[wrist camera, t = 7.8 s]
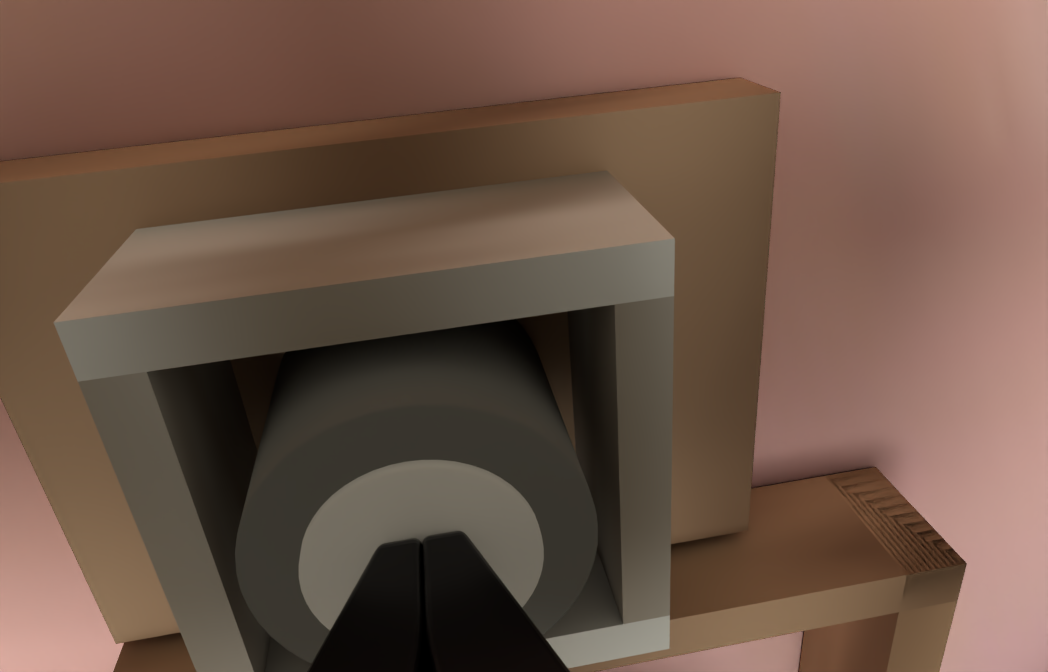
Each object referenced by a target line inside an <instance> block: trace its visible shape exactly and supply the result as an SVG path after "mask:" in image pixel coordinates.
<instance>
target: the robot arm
mask: <svg viewBox="0 0 1048 672" xmlns="http://www.w3.org/2000/svg"><path fill="white" fill-rule="evenodd" d="M307 672H570V670H569V669H568V668H567V666H566V665H565V664H564V662H563V661H562V660H561V658H560V657H559V656H558V654H557V653H556V652H555V650H554V649H553V648H552V647H551V645H550V644H549V643H548V641H547V640H546V639H545V637H544V636H543V635H542V633H541V632H540V631H539V629H538V628H537V627H536V625H535V624H534V623H533V621H532V620H531V619H530V617H529V616H528V615H527V613H526V612H525V611H524V610H523V608H522V607H521V606H520V604H519V603H518V602H517V600H516V599H515V598H514V596H513V595H512V594H511V592H510V591H509V590H508V588H507V587H506V586H505V584H504V583H503V582H502V580H501V579H500V578H499V576H498V575H497V574H496V573H495V571H494V570H493V569H492V567H491V566H490V565H489V563H488V562H487V561H486V559H485V558H484V557H483V555H482V554H481V553H480V551H479V550H478V549H477V547H476V546H475V545H474V543H473V542H472V541H471V539H470V538H469V537H468V536H467V535H466V534H465V533H464V532H462V531H452V532H446V533H440V534H434V535H429V536H426V537H425V538H424V540H423V542H422V543H421V541H420V540H419V539H417V538H411V539H405V540H399V541H393V542H388V543H383V544H381V545H380V546H378V547H377V549H376V550H375V552H374V554H373V555H372V557H371V559H370V561H369V563H368V564H367V566H366V568H365V570H364V571H363V573H362V575H361V577H360V578H359V580H358V582H357V584H356V586H355V587H354V589H353V591H352V593H351V594H350V596H349V598H348V600H347V602H346V603H345V605H344V607H343V609H342V610H341V612H340V614H339V616H338V618H337V619H336V621H335V623H334V625H333V626H332V628H331V630H330V632H329V633H328V635H327V637H326V639H325V641H324V642H323V644H322V646H321V648H320V649H319V651H318V653H317V655H316V657H315V658H314V660H313V662H312V664H311V665H310V667H309V669H308V671H307Z"/></svg>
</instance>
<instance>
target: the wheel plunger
mask: <svg viewBox="0 0 1048 672" xmlns="http://www.w3.org/2000/svg"><path fill="white" fill-rule="evenodd" d="M452 531H462V532H464V533H465V534H466V535H467V536H468V537H469V538H470V539H471V541H472V542H473V543H474V545H475V546H476V547H477V549H478V550H479V551H480V553H481V554H482V555H483V557H484V558H485V559H486V561H487V562H488V563H489V565H490V566H491V567H492V569H493V570H494V571H495V573H496V574H497V575H498V576H499V578H500V579H501V580H502V582H503V583H504V584H505V586H506V587H507V588H508V590H509V591H510V592H511V594H512V595H513V596H514V598H515V599H516V600H517V602H518V603H519V604H520V606H521V607H522V608H523V610H524V611H525V612H526V613H527V615H528V616H529V617H530V619H531V620H532V621H533V623H534V624H535V625H536V627H537V628H538V629H539V631H540V632H541V633H542V635H544V634H545V633H546V632H547V631H548V630H549V629H551V628H552V627H553V626H554V625H555V624H556V623H557V622H558V621H559V620H560V619H561V618H562V617H563V615H564V614H565V613H566V612H567V611H568V610H569V609H570V607H571V606H572V604H573V603H574V602H575V600H576V599H577V597H578V596H579V595H580V593H581V591H582V589H583V587H584V585H585V583H586V581H587V580H588V577H589V574H590V572H591V569H592V566H593V564H594V560H595V555H596V550H597V545H598V522H597V514H596V509H595V505H594V502H593V499H592V496H591V492H590V490H589V487H588V484H587V482H586V479H585V477H584V474H583V471H582V469H581V466H580V463H579V461H578V458H577V455H576V453H575V450H574V447H573V445H572V442H571V439H570V437H569V434H568V431H567V429H566V426H565V424H564V421H563V418H562V416H561V413H560V410H559V408H558V405H557V402H556V400H555V397H554V394H553V392H552V389H551V386H550V384H549V381H548V378H547V376H546V373H545V371H544V368H543V365H542V363H541V360H540V357H539V355H538V352H537V350H536V348H535V346H534V344H533V342H532V340H531V338H530V337H529V335H528V334H527V332H526V331H525V330H524V328H523V327H522V325H521V324H520V323H519V322H518V321H517V320H516V319H510V320H503V321H496V322H489V323H482V324H475V325H469V326H462V327H455V328H448V329H441V330H434V331H427V332H420V333H413V334H406V335H399V336H392V337H385V338H378V339H371V340H364V341H357V342H350V343H343V344H336V345H329V346H322V347H315V348H308V349H301V350H294V351H287V352H285V354H284V356H283V358H282V360H281V364H280V367H279V370H278V374H277V377H276V381H275V385H274V389H273V393H272V397H271V401H270V405H269V409H268V413H267V417H266V421H265V425H264V429H263V433H262V437H261V441H260V445H259V449H258V453H257V457H256V461H255V465H254V469H253V473H252V477H251V481H250V485H249V489H248V492H247V496H246V500H245V504H244V508H243V512H242V516H241V520H240V524H239V528H238V532H237V539H236V547H235V563H236V574H237V578H238V582H239V586H240V590H241V592H242V594H243V597H244V599H245V601H246V603H247V606H248V608H249V609H250V611H251V612H252V614H253V615H254V617H255V618H256V620H257V621H258V623H259V624H260V625H261V626H262V627H263V628H264V629H265V630H266V632H267V633H268V634H269V635H270V636H271V637H272V638H273V639H275V640H276V641H277V642H278V643H279V644H281V645H282V646H283V647H284V648H285V649H287V650H288V651H290V652H292V653H293V654H295V655H296V656H298V657H300V658H301V659H303V660H305V661H307V662H309V663H311V664H312V662H313V660H314V658H315V657H316V655H317V653H318V651H319V649H320V648H321V646H322V644H323V642H324V641H325V639H326V637H327V635H328V633H329V632H330V630H331V628H332V626H333V625H334V623H335V621H336V619H337V618H338V616H339V614H340V612H341V610H342V609H343V607H344V605H345V603H346V602H347V600H348V598H349V596H350V594H351V593H352V591H353V589H354V587H355V586H356V584H357V582H358V580H359V578H360V577H361V575H362V573H363V571H364V570H365V568H366V566H367V564H368V563H369V561H370V559H371V557H372V555H373V554H374V552H375V550H376V549H377V547H378V546H380V545H381V544H383V543H388V542H393V541H399V540H405V539H411V538H417V539H419V540H420V541H421V543H422V542H423V540H424V538H425V537H426V536H429V535H434V534H440V533H446V532H452Z"/></svg>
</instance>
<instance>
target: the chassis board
mask: <svg viewBox="0 0 1048 672" xmlns="http://www.w3.org/2000/svg"><path fill="white" fill-rule="evenodd" d="M780 93H781V92H778V91H775V90H773V89H770V88H767V87H764V86H762V85H759V84H756V83H753V82H751V81H748V80H745V79H743V78H733V79H725V80H716V81H707V82H698V83H689V84H680V85H672V86H663V87H654V88H645V89H636V90H627V91H619V92H610V93H601V94H592V95H583V96H574V97H566V98H557V99H548V100H539V101H530V102H521V103H513V104H504V105H495V106H486V107H477V108H468V109H460V110H451V111H442V112H433V113H424V114H415V115H407V116H398V117H389V118H380V119H371V120H362V121H354V122H345V123H336V124H327V125H318V126H309V127H301V128H292V129H283V130H274V131H265V132H256V133H248V134H239V135H230V136H221V137H212V138H203V139H195V140H186V141H177V142H168V143H159V144H150V145H142V146H133V147H124V148H115V149H106V150H97V151H89V152H80V153H71V154H62V155H53V156H44V157H36V158H27V159H18V160H9V161H0V398H1V400H2V402H3V404H4V406H5V408H6V410H7V413H8V415H9V417H10V419H11V421H12V423H13V425H14V428H15V430H16V432H17V434H18V436H19V438H20V440H21V442H22V445H23V447H24V449H25V451H26V453H27V455H28V457H29V459H30V462H31V464H32V466H33V468H34V470H35V472H36V474H37V476H38V479H39V481H40V483H41V485H42V487H43V489H44V491H45V494H46V496H47V498H48V500H49V502H50V504H51V506H52V508H53V511H54V513H55V515H56V517H57V519H58V521H59V523H60V525H61V528H62V530H63V532H64V534H65V536H66V538H67V540H68V543H69V545H70V547H71V549H72V551H73V553H74V555H75V557H76V560H77V562H78V564H79V566H80V568H81V570H82V572H83V574H84V577H85V579H86V581H87V583H88V585H89V587H90V589H91V592H92V594H93V596H94V598H95V600H96V602H97V604H98V606H99V609H100V611H101V613H102V615H103V617H104V619H105V621H106V623H107V626H108V628H109V630H110V632H111V634H112V636H113V638H114V641H115V643H116V644H118V643H124V645H123V647H122V650H121V653H120V655H119V658H118V661H117V663H116V666H115V669H114V671H113V672H307V671H308V669H309V667H310V665H311V663H309V662H307V661H305V660H303V659H301V658H300V657H298V656H296V655H295V654H293V653H292V652H290V651H288V650H287V649H285V648H284V647H283V646H282V645H281V644H279V643H278V642H277V641H276V640H275V639H273V638H272V637H271V636H270V635H269V634H268V633H267V632H266V630H265V629H264V628H263V627H262V626H261V625H260V624H259V623H258V621H257V620H256V618H255V617H254V615H253V614H252V612H251V611H250V609H249V608H248V606H247V603H246V601H245V599H244V597H243V594H242V592H241V590H240V586H239V582H238V578H237V574H236V563H235V547H236V539H237V532H238V528H239V524H240V520H241V516H242V512H243V508H244V504H245V500H246V496H247V492H248V489H249V485H250V481H251V477H252V473H253V469H254V465H255V461H256V457H257V453H258V449H259V445H260V441H261V437H262V433H263V429H264V425H265V421H266V417H267V413H268V409H269V405H270V401H271V397H272V393H273V389H274V385H275V381H276V377H277V374H278V370H279V367H280V364H281V360H282V358H283V356H284V354H285V352H287V351H294V350H301V349H308V348H315V347H322V346H329V345H336V344H343V343H350V342H357V341H364V340H371V339H378V338H385V337H392V336H399V335H406V334H413V333H420V332H427V331H434V330H441V329H448V328H455V327H462V326H469V325H475V324H482V323H489V322H496V321H503V320H510V319H516V320H517V321H518V322H519V323H520V324H521V325H522V327H523V328H524V330H525V331H526V332H527V334H528V335H529V337H530V338H531V340H532V342H533V344H534V346H535V348H536V350H537V352H538V355H539V357H540V360H541V363H542V365H543V368H544V371H545V373H546V376H547V378H548V381H549V384H550V386H551V389H552V392H553V394H554V397H555V400H556V402H557V405H558V408H559V410H560V413H561V416H562V418H563V421H564V424H565V426H566V429H567V431H568V434H569V437H570V439H571V442H572V445H573V447H574V450H575V453H576V455H577V458H578V461H579V463H580V466H581V469H582V471H583V474H584V477H585V479H586V482H587V484H588V487H589V490H590V492H591V496H592V499H593V502H594V505H595V509H596V514H597V522H598V545H597V550H596V555H595V560H594V564H593V566H592V569H591V572H590V574H589V577H588V580H587V581H586V583H585V585H584V587H583V589H582V591H581V593H580V595H579V596H578V597H577V599H576V600H575V602H574V603H573V604H572V606H571V607H570V609H569V610H568V611H567V612H566V613H565V614H564V615H563V617H562V618H561V619H560V620H559V621H558V622H557V623H556V624H555V625H554V626H553V627H552V628H551V629H549V630H548V631H547V632H546V633H545V634H544V635H543V636H544V637H545V639H546V640H547V641H548V643H549V644H550V645H551V647H552V648H553V649H554V650H555V652H556V653H557V654H558V656H559V657H560V658H561V660H562V661H563V662H564V664H565V665H566V666H567V668H568V669H569V670H570V672H596V671H601V670H606V669H611V668H616V667H621V666H627V665H632V664H637V663H642V662H647V661H652V660H657V659H662V658H667V657H673V656H678V655H683V654H688V653H693V652H698V651H703V650H708V649H713V648H719V647H724V646H729V645H734V644H739V643H744V642H749V641H754V640H759V639H765V638H770V637H775V636H780V635H785V634H790V633H795V632H800V631H804V637H803V644H802V652H801V660H800V668H799V672H939V670H940V666H941V662H942V659H943V655H944V651H945V647H946V643H947V639H948V635H949V631H950V627H951V623H952V619H953V615H954V611H955V607H956V604H957V600H958V596H959V592H960V588H961V584H962V580H963V576H964V572H965V568H966V564H967V563H966V562H965V561H964V560H963V559H962V558H961V557H960V556H959V555H958V554H957V553H956V552H955V551H954V550H953V549H952V548H951V546H950V545H949V544H948V543H947V542H946V541H945V540H944V539H943V538H942V537H941V536H940V535H939V534H938V533H937V532H936V531H935V530H934V528H933V527H932V526H931V525H930V524H929V523H928V522H927V521H926V520H925V519H924V518H923V517H922V516H921V515H920V514H919V513H918V512H917V510H916V509H915V508H914V507H913V506H912V505H911V504H910V503H909V502H908V501H907V500H906V499H905V498H904V497H903V496H902V495H901V494H900V492H899V491H898V490H897V489H896V488H895V487H894V486H893V485H892V484H891V483H890V482H889V481H888V480H887V479H886V478H885V477H884V476H883V474H882V473H881V472H880V471H879V470H878V469H877V468H876V467H873V468H867V469H862V470H856V471H850V472H844V473H838V474H833V475H827V476H821V477H815V478H810V479H804V480H798V481H792V482H787V483H781V484H775V485H769V486H763V487H758V488H752V489H751V484H752V470H753V457H754V443H755V430H756V416H757V403H758V389H759V376H760V362H761V349H762V336H763V322H764V309H765V295H766V282H767V268H768V255H769V241H770V228H771V215H772V201H773V188H774V174H775V161H776V147H777V134H778V120H779V107H780Z"/></svg>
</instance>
